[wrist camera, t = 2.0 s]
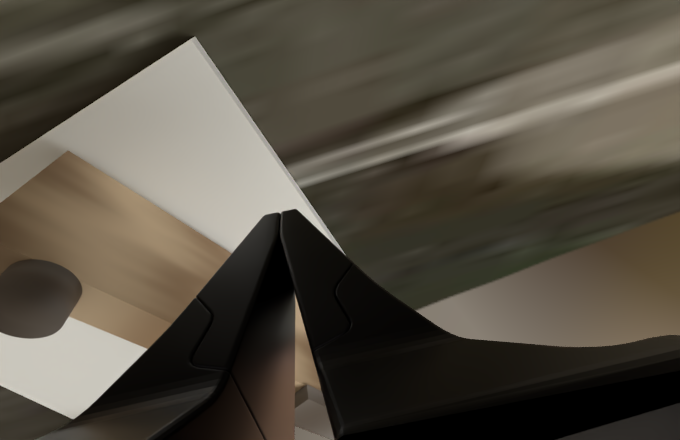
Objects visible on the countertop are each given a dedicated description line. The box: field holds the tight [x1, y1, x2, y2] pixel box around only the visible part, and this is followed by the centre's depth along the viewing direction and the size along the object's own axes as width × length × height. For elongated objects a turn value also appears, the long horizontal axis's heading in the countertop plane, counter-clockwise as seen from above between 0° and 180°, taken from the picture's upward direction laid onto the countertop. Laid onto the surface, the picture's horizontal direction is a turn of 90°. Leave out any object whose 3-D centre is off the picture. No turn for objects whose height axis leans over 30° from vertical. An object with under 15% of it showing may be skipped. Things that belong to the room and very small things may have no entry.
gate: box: [0, 151, 334, 440], centre depth 14 cm, size 14×2×6 cm, turn 42°
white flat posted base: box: [0, 37, 345, 419], centre depth 15 cm, size 19×17×7 cm
